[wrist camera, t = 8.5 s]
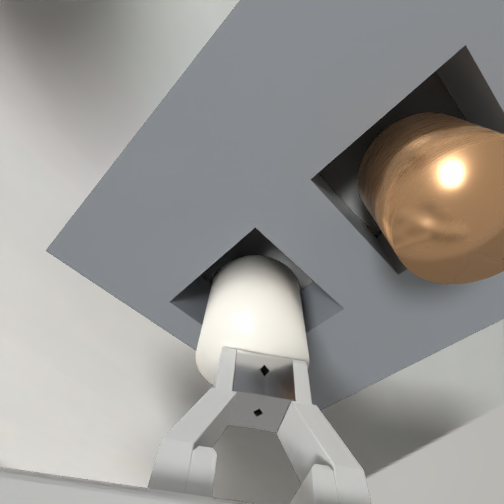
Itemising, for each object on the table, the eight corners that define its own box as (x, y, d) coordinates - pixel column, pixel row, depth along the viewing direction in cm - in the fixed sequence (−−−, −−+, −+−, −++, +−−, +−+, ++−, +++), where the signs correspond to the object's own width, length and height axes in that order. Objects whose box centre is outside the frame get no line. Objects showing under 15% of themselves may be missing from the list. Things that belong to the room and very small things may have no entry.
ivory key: (254, 336, 16) (252, 409, 13) (193, 290, 15) (172, 359, 11) (317, 294, 15) (332, 364, 11) (255, 238, 13) (252, 300, 10)
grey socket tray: (296, 374, 21) (300, 420, 18) (82, 217, 15) (45, 250, 13) (820, 73, 11) (982, 79, 9) (742, -611, 6) (1105, -1115, 3)
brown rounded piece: (396, 241, 13) (440, 306, 10) (335, 171, 12) (362, 219, 8) (496, 173, 11) (590, 223, 8) (439, 83, 10) (525, 98, 7)
